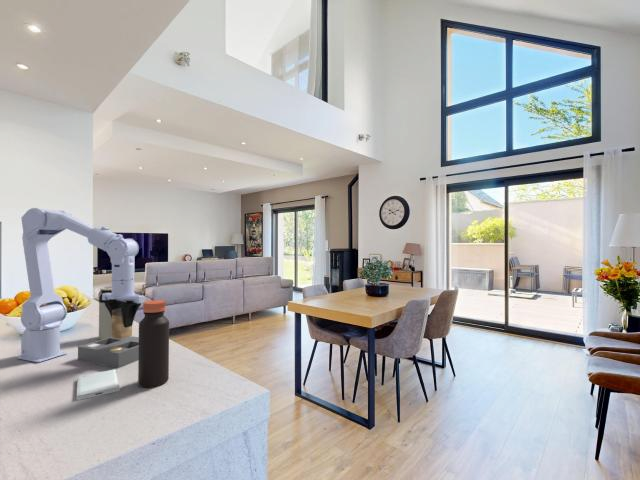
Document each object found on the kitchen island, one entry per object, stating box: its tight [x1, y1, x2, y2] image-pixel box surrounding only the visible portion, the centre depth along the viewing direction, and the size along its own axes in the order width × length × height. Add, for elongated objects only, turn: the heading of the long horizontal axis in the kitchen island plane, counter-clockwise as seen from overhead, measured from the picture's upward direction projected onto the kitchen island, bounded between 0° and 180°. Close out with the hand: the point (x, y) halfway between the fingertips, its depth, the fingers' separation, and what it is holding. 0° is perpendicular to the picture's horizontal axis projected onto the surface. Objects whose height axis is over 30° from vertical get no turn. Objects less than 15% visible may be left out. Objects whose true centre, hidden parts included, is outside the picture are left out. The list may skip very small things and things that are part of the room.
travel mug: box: [98, 285, 112, 340], centre depth 117 cm, size 8×8×18 cm
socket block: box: [77, 335, 139, 369], centre depth 98 cm, size 16×13×4 cm
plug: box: [112, 308, 133, 339], centre depth 95 cm, size 4×4×8 cm
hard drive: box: [76, 369, 121, 401], centre depth 79 cm, size 2×8×12 cm
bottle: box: [137, 299, 170, 389], centre depth 81 cm, size 7×7×20 cm
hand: (122, 325), depth 95 cm, fingers closed on plug, 4 cm apart
